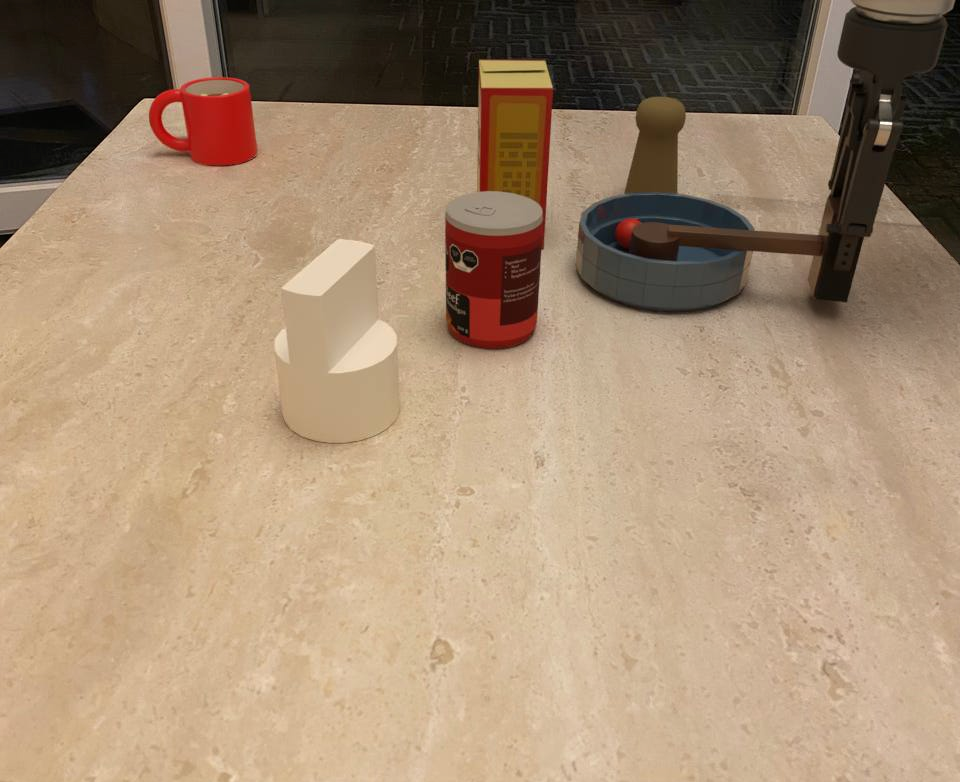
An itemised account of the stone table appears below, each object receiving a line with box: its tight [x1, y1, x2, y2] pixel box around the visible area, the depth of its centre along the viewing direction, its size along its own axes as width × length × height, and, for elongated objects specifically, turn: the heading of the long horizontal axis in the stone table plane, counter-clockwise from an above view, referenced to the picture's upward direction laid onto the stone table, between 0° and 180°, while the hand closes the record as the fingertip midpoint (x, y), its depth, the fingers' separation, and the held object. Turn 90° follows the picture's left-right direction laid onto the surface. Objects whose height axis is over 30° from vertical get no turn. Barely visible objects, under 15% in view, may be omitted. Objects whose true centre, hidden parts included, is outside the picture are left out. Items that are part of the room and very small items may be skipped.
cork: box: [623, 96, 687, 194], centre depth 107 cm, size 6×6×11 cm
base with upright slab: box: [273, 238, 401, 444], centre depth 74 cm, size 9×9×12 cm
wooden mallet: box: [629, 196, 841, 298], centre depth 90 cm, size 20×4×8 cm, turn 83°
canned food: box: [444, 191, 543, 349], centre depth 84 cm, size 8×8×11 cm
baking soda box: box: [476, 59, 554, 250], centre depth 99 cm, size 10×6×16 cm
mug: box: [148, 76, 258, 166], centre depth 117 cm, size 8×12×8 cm, turn 98°
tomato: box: [615, 218, 641, 249], centre depth 99 cm, size 3×3×3 cm
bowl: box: [575, 192, 756, 312], centre depth 95 cm, size 16×16×5 cm
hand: (829, 287), depth 91 cm, fingers closed on wooden mallet, 4 cm apart
